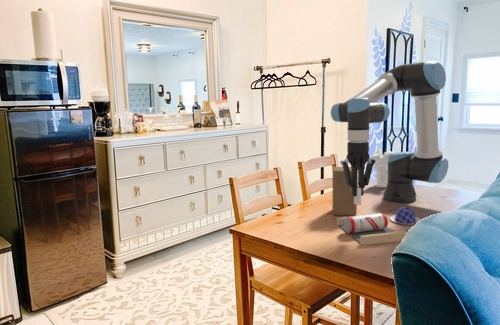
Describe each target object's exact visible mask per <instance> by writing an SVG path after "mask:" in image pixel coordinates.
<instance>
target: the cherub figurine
mask: <svg viewBox="0 0 500 325" xmlns="http://www.w3.org/2000/svg"><path fill="white" fill-rule="evenodd" d="M382 152H383V151H382V149H381V148H380V147H379V146H377V147H376V151H375V153H374V155H372V156H371V157H370V158H371V159H374V160H375V161H376V162H375V163H374V165H373V171H374V172H375V173H376V174H375V178H376V182H375V183H374V186H375V187H376V188H382V189H383V188H386V185H387V180H388V163H387V162H388V156H389V155H390V154H392V153H394V152H393V151H391V150H388V151H385V152H383V154H382Z"/></svg>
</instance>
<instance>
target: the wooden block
mask: <svg viewBox="0 0 500 325" xmlns="http://www.w3.org/2000/svg"><path fill="white" fill-rule="evenodd" d="M348 167H349V170H350V174H351V179H352V169H351V166H348ZM357 206H358V205H356V204H354V196H353V195H352V187H350V186H348V185H347V182H346V178H345V174H344V169H343V166H334V167H333V168H332V214H333V215H334V216H346V217H349V216H357V212H358V211H357V210H358V209H357Z"/></svg>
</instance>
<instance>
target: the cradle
mask: <svg viewBox="0 0 500 325" xmlns="http://www.w3.org/2000/svg"><path fill="white" fill-rule="evenodd" d="M345 217H346V216H340V217H336V226H337V227H339V228H340V229H341V230H343V231H344V232H345V233H346V234H347V235H349V236H350V237H351V238H353V239H354V241H356V242H358V244H360V245H361V246H367V245H369V246H370V245H377V244H378V245H379V244H386V243H387V244H388V243H395V242H396V243H397V242H403V241H402V239H403V238H404V237H405V235H406V233H407V234H408V231H406V230H401V231H395V230H393V229H391V228H389V227H388V226H387V227H385V228H383V229H380V230H373V231H365V232H357V233H347V232H346V231H345V230H344V227H343V220H344V219H345Z"/></svg>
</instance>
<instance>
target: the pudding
mask: <svg viewBox="0 0 500 325" xmlns="http://www.w3.org/2000/svg"><path fill="white" fill-rule="evenodd" d="M389 220H390V221H391V222H394V223H396V224H400V225H410V226H411V225H416V224H415V223H417V222H418V221H419V220H421V221H422V219H421V218H419V217H417V216H416V215H415V211H414V209H413V208H411V207H407V206H405V207H404V206H403V207H401V206H400V207H398V209H397V211H396V213H395V215H391V216H390V217H389Z"/></svg>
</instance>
